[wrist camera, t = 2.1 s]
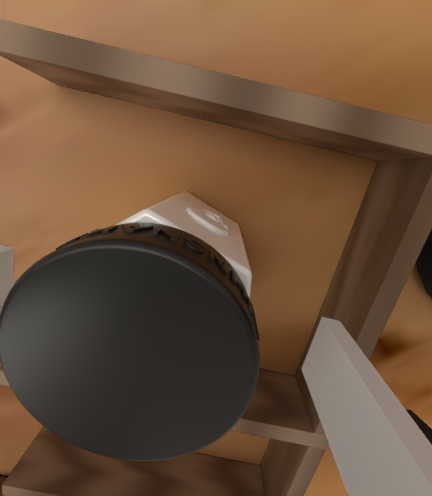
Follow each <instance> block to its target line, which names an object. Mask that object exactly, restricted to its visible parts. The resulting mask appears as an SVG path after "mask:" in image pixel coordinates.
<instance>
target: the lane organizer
mask: <svg viewBox="0 0 432 496" xmlns="http://www.w3.org/2000/svg"><path fill="white" fill-rule="evenodd" d="M0 55H1V56H3V57H5V58H7V59H8V60H10V61H12V62H14V63H16V64H18V65H20V66H22V67H24V68H26V69H28V70H30V71H31V72H33V73H35V74H37V75H39V76H41V77H43V78H45V79H47V80H49V81H51V82H53V83H54V84H56V85H60V86H64V87H69V88H73V89H77V90H81V91H85V92H90V93H94V94H98V95H102V96H106V97H111V98H115V99H119V100H123V101H128V102H132V103H136V104H140V105H144V106H149V107H153V108H157V109H161V110H165V111H170V112H174V113H178V114H182V115H186V116H191V117H195V118H199V119H203V120H208V121H212V122H216V123H220V124H224V125H229V126H233V127H237V128H241V129H245V130H250V131H254V132H258V133H262V134H266V135H271V136H275V137H279V138H283V139H288V140H292V141H296V142H300V143H304V144H309V145H313V146H317V147H321V148H325V149H330V150H334V151H338V152H342V153H346V154H351V155H355V156H359V157H363V158H368V159H372V160H376V161H378V163H377V165H376V168H375V170H374V173H373V176H372V178H371V181H370V183H369V186H368V189H367V191H366V194H365V196H364V199H363V202H362V204H361V207H360V209H359V212H358V214H357V217H356V220H355V222H354V225H353V227H352V230H351V233H350V235H349V238H348V240H347V243H346V246H345V248H344V251H343V253H342V256H341V258H340V261H339V264H338V266H337V269H336V271H335V274H334V277H333V279H332V282H331V284H330V287H329V290H328V292H327V295H326V297H325V300H324V302H323V305H322V308H321V310H320V313H319V315H318V318H317V321H316V323H315V326H314V328H313V331H312V333H311V336H310V339H309V341H308V344H307V346H306V349H305V352H304V354H303V357H302V359H301V362H300V365H299V367H298V370H297V372H296V375H295V376H291V375H286V374H281V373H277V372H272V371H267V370H262V369H259V377H258V382H257V387H256V390H255V393H254V396H253V398H252V400H251V402H250V404H249V406H248V408H247V410H246V411H245V413H244V414H243V416H242V417H241V418H240V419H239V421H238V422H237V423H236V424H235V425H234V426H233V427H232V428H231V429H230V430H231V431H236V432H241V433H246V434H251V435H256V436H261V437H266V438H271V440H270V442H269V445H268V447H267V450H266V453H265V455H264V458H263V460H262V463H261V465H260V466H259V465H254V464H249V463H244V462H239V461H234V460H228V459H223V458H218V457H213V456H208V455H203V454H198V453H190V454H187V455H184V456H180V457H176V458H172V459H166V460H157V461H130V460H122V459H116V458H111V457H106V456H102V455H99V454H95V453H93V452H90V451H87V450H84V449H82V448H80V447H77V446H75V445H73V444H71V443H69V442H67V441H65V440H64V439H62V438H60V437H59V436H57V435H56V434H54V433H53V432H51V431H50V430H48V429H47V428H46V427H45V426H44V427H43V428H42V430H41V431H40V432H39V434H38V435H37V437H36V438H35V439H34V441H33V442H32V444H31V445H30V446H29V448H28V449H27V451H26V452H25V453H24V455H23V456H22V458H21V459H20V460H19V462H18V463H17V465H16V466H15V467H14V469H13V470H12V472H11V473H10V474H9V476H8V477H7V479H6V480H5V481H4V483H3V484H2V495H4V496H304V494H305V491H306V489H307V487H308V485H309V483H310V481H311V479H312V477H313V475H314V473H315V471H316V469H317V466H318V464H319V462H320V460H321V458H322V456H323V454H324V452H325V450H326V448H327V446H328V444H329V443H328V440H327V437H326V435H325V432H324V429H323V426H322V424H321V421H320V418H319V416H318V413H317V410H316V407H315V405H314V402H313V399H312V397H311V394H310V391H309V388H308V386H307V383H306V380H305V378H304V375H303V372H302V366H303V364H304V361H305V358H306V356H307V353H308V351H309V348H310V346H311V343H312V341H313V338H314V336H315V333H316V331H317V328H318V325H319V323H320V320H321V318H322V317H325V318H329V319H334V320H338V321H340V322H341V323H342V325H343V326H344V327H345V329H346V330H347V332H348V333H349V334H350V336H351V337H352V338H353V340H354V341H355V342H356V344H357V345H358V346H359V348H360V349H361V350H362V352H363V353H364V354H365V356H366V357H367V358H368V360H369V358H370V356H371V354H372V352H373V350H374V348H375V346H376V344H377V342H378V339H379V337H380V335H381V333H382V331H383V329H384V327H385V325H386V323H387V321H388V319H389V317H390V314H391V312H392V310H393V308H394V306H395V304H396V302H397V300H398V298H399V296H400V294H401V292H402V289H403V287H404V285H405V283H406V281H407V279H408V277H409V275H410V273H411V271H412V269H413V267H414V264H415V262H416V260H417V258H418V256H419V254H420V252H421V250H422V248H423V246H424V244H425V242H426V240H427V237H428V235H429V233H430V231H431V229H432V124H427V123H423V122H419V121H415V120H411V119H407V118H403V117H399V116H395V115H391V114H386V113H382V112H378V111H374V110H370V109H366V108H362V107H358V106H354V105H350V104H345V103H341V102H337V101H333V100H329V99H325V98H321V97H317V96H313V95H309V94H304V93H300V92H296V91H292V90H288V89H284V88H280V87H276V86H272V85H268V84H263V83H259V82H255V81H251V80H247V79H243V78H239V77H235V76H231V75H227V74H222V73H218V72H214V71H210V70H206V69H202V68H198V67H194V66H190V65H186V64H181V63H177V62H173V61H169V60H165V59H161V58H157V57H153V56H149V55H145V54H140V53H136V52H132V51H128V50H124V49H120V48H116V47H112V46H108V45H104V44H99V43H95V42H91V41H87V40H83V39H79V38H75V37H71V36H67V35H63V34H58V33H54V32H50V31H46V30H42V29H38V28H34V27H30V26H26V25H22V24H17V23H13V22H9V21H5V20H1V19H0ZM0 385H5V386H10V385H9V383H8V381H7V379H6V377H5V374H4V372H3V369H2V366H1V367H0Z"/></svg>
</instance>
